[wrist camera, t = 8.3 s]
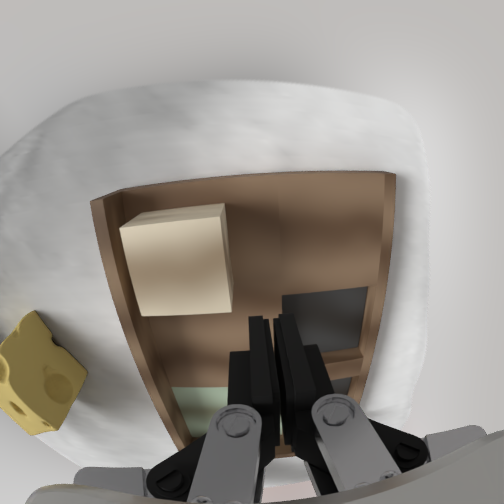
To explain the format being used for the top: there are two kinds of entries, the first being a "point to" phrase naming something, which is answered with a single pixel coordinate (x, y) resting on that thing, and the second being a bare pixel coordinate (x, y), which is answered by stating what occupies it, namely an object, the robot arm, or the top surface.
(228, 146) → the top surface
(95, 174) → the top surface
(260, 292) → the box
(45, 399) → the cheese
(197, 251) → the beech block
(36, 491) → the robot arm
